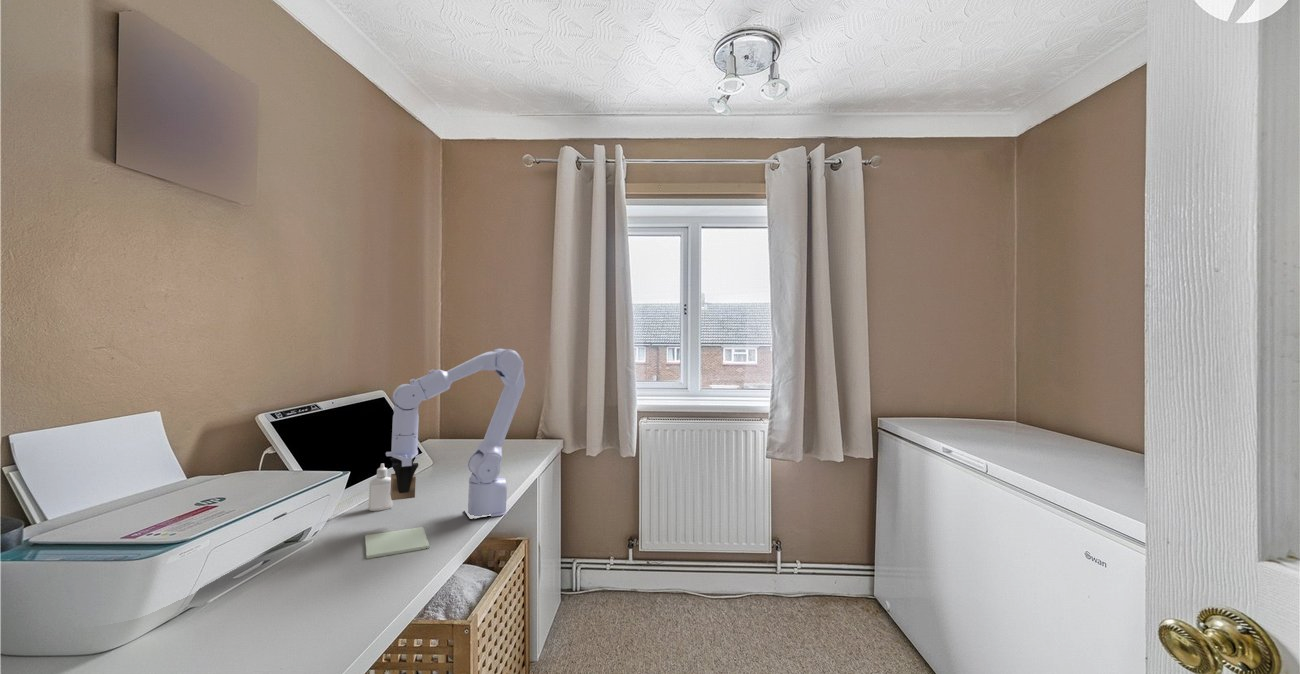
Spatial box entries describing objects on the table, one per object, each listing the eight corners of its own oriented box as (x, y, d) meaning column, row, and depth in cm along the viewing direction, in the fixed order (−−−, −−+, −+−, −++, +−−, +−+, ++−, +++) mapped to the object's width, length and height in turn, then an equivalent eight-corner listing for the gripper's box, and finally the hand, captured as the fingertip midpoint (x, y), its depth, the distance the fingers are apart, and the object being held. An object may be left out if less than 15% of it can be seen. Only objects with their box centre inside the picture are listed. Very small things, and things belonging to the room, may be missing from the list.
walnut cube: (412, 491, 124) (413, 471, 124) (414, 497, 120) (415, 476, 120) (390, 494, 121) (391, 474, 121) (391, 500, 117) (392, 479, 117)
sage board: (422, 529, 119) (422, 526, 119) (429, 548, 108) (429, 545, 108) (365, 538, 112) (365, 535, 112) (366, 558, 102) (366, 555, 102)
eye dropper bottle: (387, 511, 130) (389, 465, 130) (365, 511, 129) (367, 465, 129) (395, 506, 134) (396, 461, 134) (373, 505, 134) (375, 461, 134)
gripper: (385, 429, 125) (382, 483, 125) (388, 440, 112) (385, 500, 112) (415, 427, 128) (413, 480, 128) (422, 438, 116) (419, 496, 116)
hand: (402, 489), depth 121 cm, fingers closed on walnut cube, 5 cm apart
